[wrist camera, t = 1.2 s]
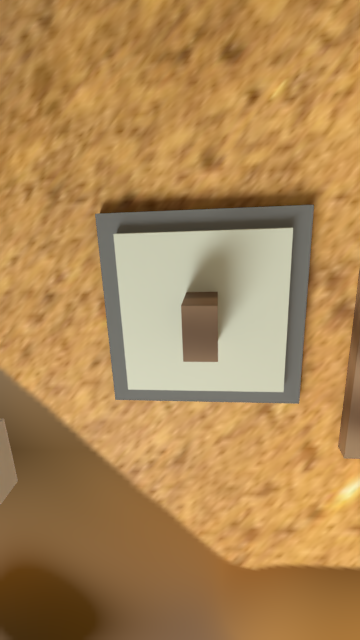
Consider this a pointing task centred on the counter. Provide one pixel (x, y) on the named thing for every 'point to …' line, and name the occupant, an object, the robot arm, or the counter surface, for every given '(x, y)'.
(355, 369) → the board
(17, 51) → the counter surface
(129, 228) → the mat
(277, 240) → the lid
